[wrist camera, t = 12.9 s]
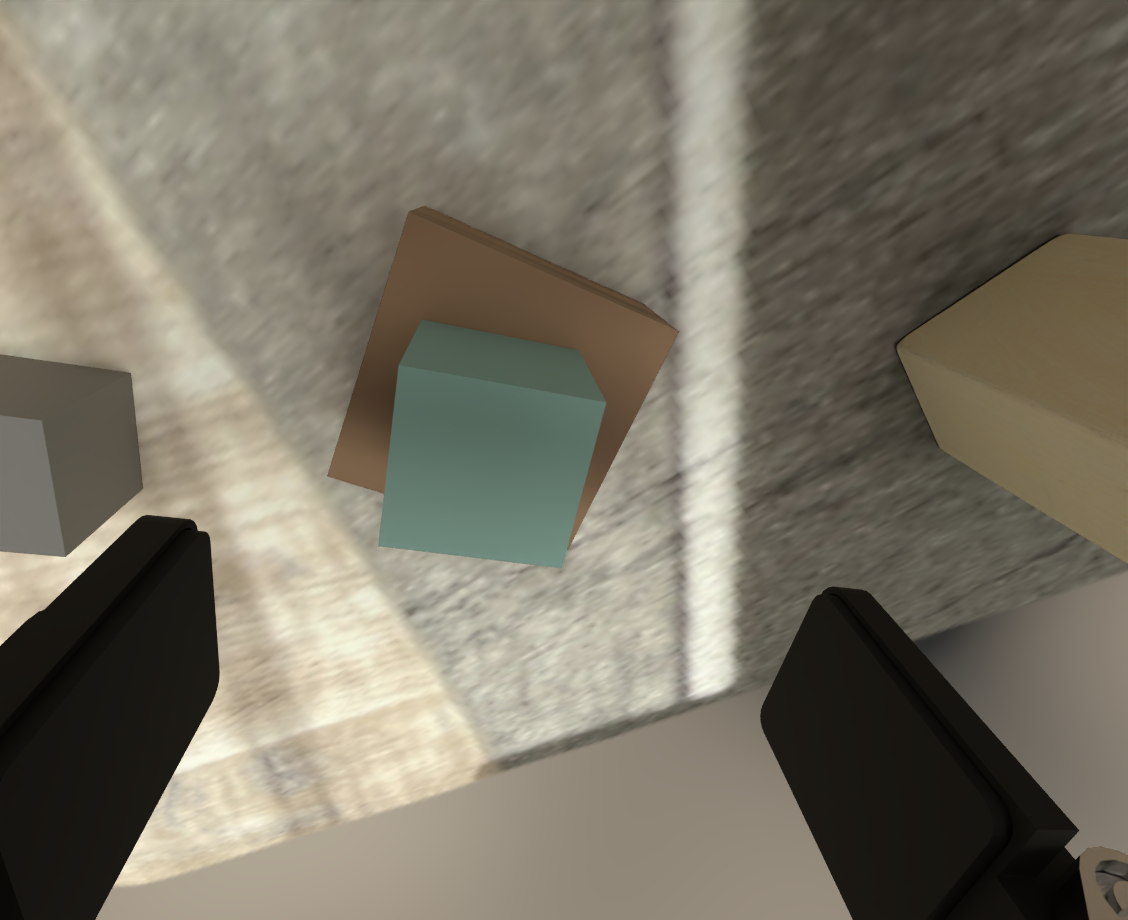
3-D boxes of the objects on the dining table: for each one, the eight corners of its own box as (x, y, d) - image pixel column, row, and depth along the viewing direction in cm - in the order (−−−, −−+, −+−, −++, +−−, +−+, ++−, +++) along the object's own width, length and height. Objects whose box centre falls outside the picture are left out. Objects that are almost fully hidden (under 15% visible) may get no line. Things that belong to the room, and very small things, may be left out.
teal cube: (422, 319, 18) (398, 365, 13) (578, 350, 19) (606, 402, 14) (403, 464, 20) (378, 546, 15) (546, 485, 21) (562, 567, 16)
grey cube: (-21, 350, 21) (-158, 395, 17) (132, 372, 22) (41, 420, 18) (4, 472, 23) (-112, 541, 19) (144, 487, 24) (65, 557, 20)
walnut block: (425, 205, 21) (408, 211, 17) (642, 303, 23) (678, 331, 19) (356, 422, 24) (327, 476, 20) (554, 487, 27) (567, 549, 22)
